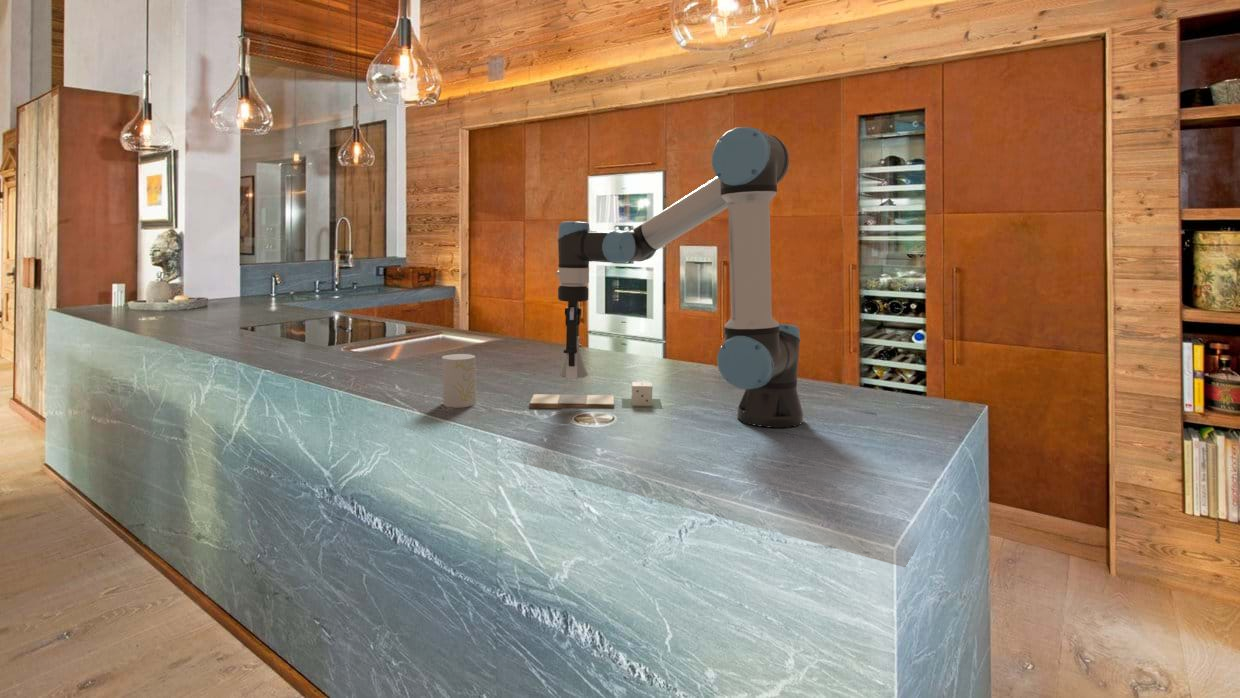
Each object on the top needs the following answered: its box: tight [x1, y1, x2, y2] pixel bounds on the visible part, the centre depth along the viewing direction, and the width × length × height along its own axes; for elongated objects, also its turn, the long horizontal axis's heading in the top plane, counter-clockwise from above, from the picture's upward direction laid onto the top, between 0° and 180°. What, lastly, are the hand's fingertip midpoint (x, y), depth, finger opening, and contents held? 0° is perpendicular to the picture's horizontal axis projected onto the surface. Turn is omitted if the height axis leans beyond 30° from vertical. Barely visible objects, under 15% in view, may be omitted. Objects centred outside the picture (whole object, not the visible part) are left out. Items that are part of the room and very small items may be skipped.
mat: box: [621, 398, 663, 409], centre depth 177 cm, size 10×10×1 cm
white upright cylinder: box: [441, 353, 477, 409], centre depth 175 cm, size 8×8×12 cm
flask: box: [558, 336, 589, 379], centre depth 175 cm, size 7×7×10 cm
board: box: [528, 393, 615, 409], centre depth 177 cm, size 21×10×1 cm, turn 91°
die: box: [630, 381, 653, 406], centre depth 177 cm, size 5×5×5 cm
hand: (572, 375), depth 176 cm, fingers closed on flask, 7 cm apart
